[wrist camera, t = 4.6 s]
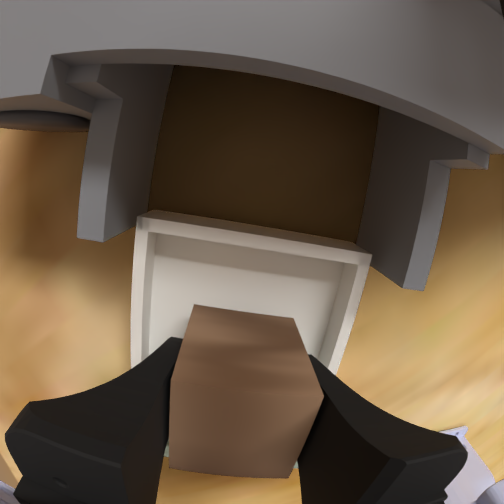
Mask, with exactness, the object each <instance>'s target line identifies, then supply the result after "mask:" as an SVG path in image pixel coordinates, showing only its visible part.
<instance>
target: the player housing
mask: <svg viewBox="0 0 504 504" xmlns="http://www.w3.org/2000/svg"><path fill="white" fill-rule="evenodd" d="M174 65H185V66H197V67H207V68H216V69H225V70H232V71H239V72H246V73H252V74H258V75H264V76H269V77H274V78H279V79H284V80H289V81H294V82H298V83H302V84H307V85H311V86H315V87H319V88H323V89H327V90H330V91H334V92H337V93H341V94H344V95H348V96H351V97H354V98H358V99H361V100H364V101H367V102H370V103H373V104H376V105H379V106H380V108H379V116H378V124H377V132H376V139H375V146H374V153H373V159H372V165H371V171H370V177H369V183H368V188H367V193H366V199H365V204H364V209H363V214H362V219H361V223H360V228H359V233H358V237H357V242H356V245H357V246H359V247H361V248H362V249H364V250H366V251H367V252H369V253H371V254H372V258H371V262H370V266H372V267H373V268H375V269H376V270H378V271H379V272H380V273H382V274H383V275H385V276H386V277H387V278H389V279H390V280H392V281H393V282H394V283H396V284H397V285H399V286H400V287H401V288H404V289H412V290H419V291H424V289H425V285H426V282H427V278H428V275H429V271H430V268H431V264H432V260H433V257H434V253H435V249H436V245H437V240H438V236H439V232H440V227H441V223H442V218H443V213H444V208H445V202H446V197H447V191H448V184H449V178H450V171H451V168H454V169H484V170H488V165H489V155H490V154H504V19H503V14H502V9H501V5H500V1H499V0H0V128H7V129H17V130H31V131H50V132H84V131H89V133H88V138H87V144H86V150H85V157H84V164H83V171H82V180H81V189H80V199H79V211H78V226H77V238H80V239H86V240H92V241H98V242H105V241H107V240H109V239H111V238H113V237H114V236H116V235H118V234H120V233H122V232H124V231H126V230H128V229H130V228H132V227H134V226H136V223H137V216H139V215H142V214H144V213H147V210H148V201H149V194H150V186H151V179H152V173H153V166H154V160H155V154H156V148H157V142H158V137H159V131H160V126H161V121H162V116H163V111H164V106H165V102H166V97H167V93H168V88H169V84H170V80H171V76H172V71H173V67H174Z"/></svg>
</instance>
